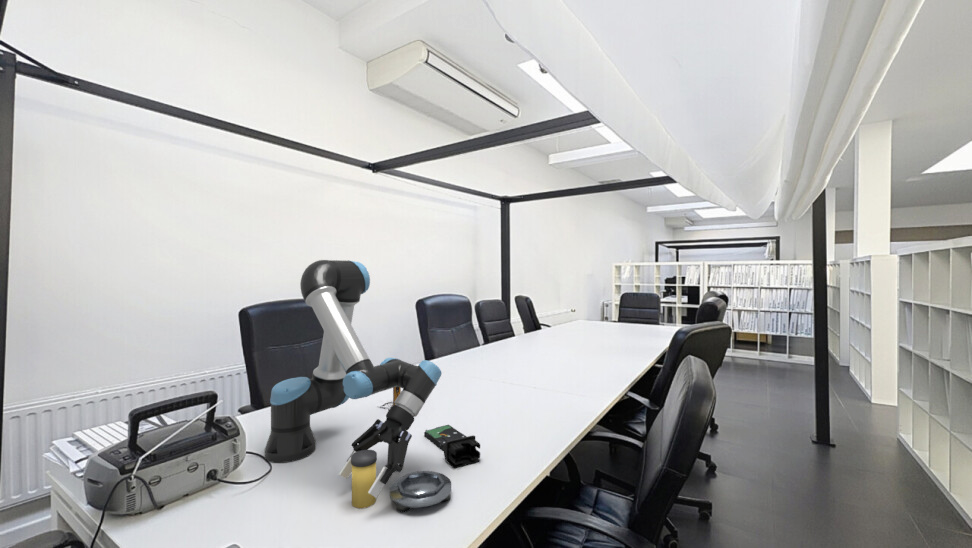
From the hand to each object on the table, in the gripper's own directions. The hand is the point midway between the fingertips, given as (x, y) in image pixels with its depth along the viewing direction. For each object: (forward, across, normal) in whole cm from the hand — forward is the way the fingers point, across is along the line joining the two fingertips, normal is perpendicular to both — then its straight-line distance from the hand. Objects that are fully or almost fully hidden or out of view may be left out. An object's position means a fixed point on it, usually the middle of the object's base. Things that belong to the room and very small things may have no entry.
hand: (356, 485), depth 100 cm
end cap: (-21, -4, -28) cm, 35 cm away
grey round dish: (-6, -10, -13) cm, 17 cm away
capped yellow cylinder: (+2, 0, -5) cm, 5 cm away
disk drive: (-26, +12, -34) cm, 44 cm away
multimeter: (-31, +55, -38) cm, 74 cm away
